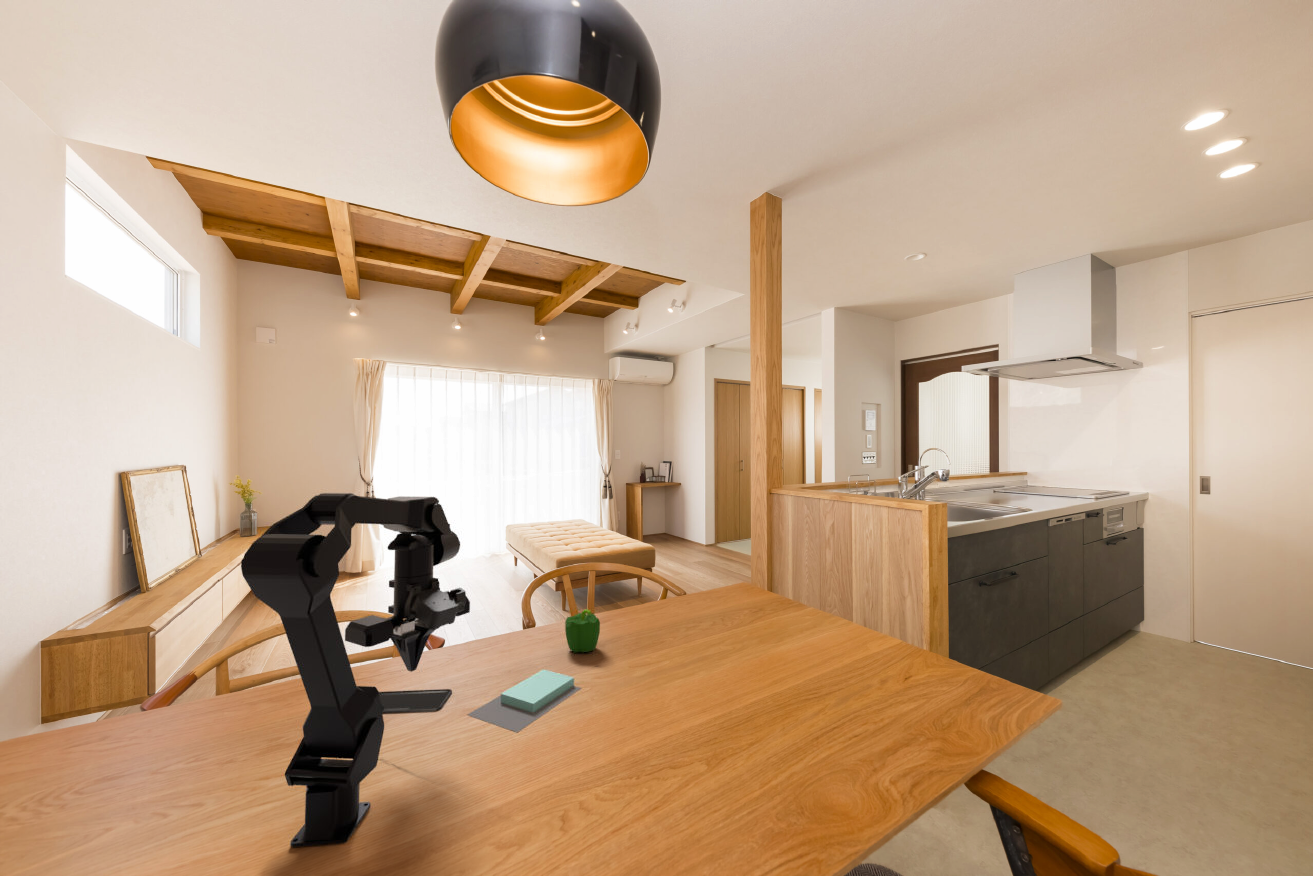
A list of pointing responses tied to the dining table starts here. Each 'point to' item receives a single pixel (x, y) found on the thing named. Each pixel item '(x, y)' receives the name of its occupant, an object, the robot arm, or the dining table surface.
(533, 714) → the mat
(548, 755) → the dining table surface
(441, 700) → the phone
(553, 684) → the teal board
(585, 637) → the bell pepper
